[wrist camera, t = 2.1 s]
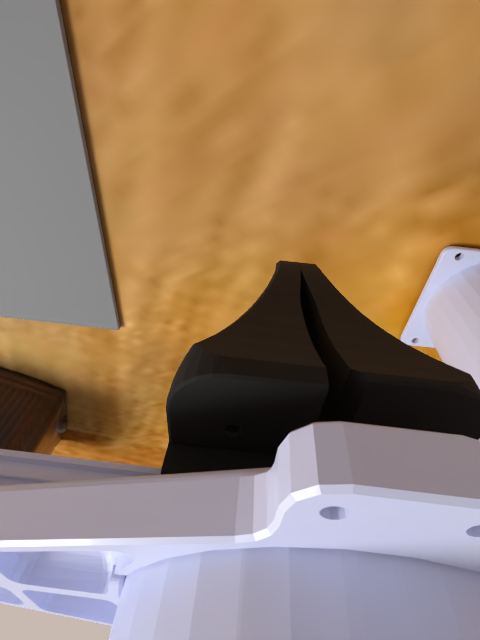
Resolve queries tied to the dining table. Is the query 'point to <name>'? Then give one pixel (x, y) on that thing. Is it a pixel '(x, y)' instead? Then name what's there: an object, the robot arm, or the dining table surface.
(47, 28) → the mat
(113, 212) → the dining table surface
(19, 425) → the coffee grinder
